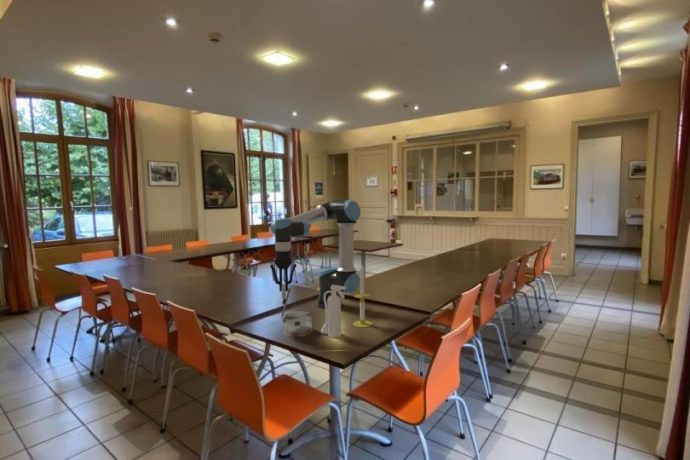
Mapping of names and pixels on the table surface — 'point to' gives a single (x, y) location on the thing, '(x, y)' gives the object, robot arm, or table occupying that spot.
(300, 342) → the table surface
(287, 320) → the pot
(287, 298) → the lid
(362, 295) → the candle
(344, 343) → the table surface
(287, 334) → the trivet
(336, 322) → the white extinguisher
